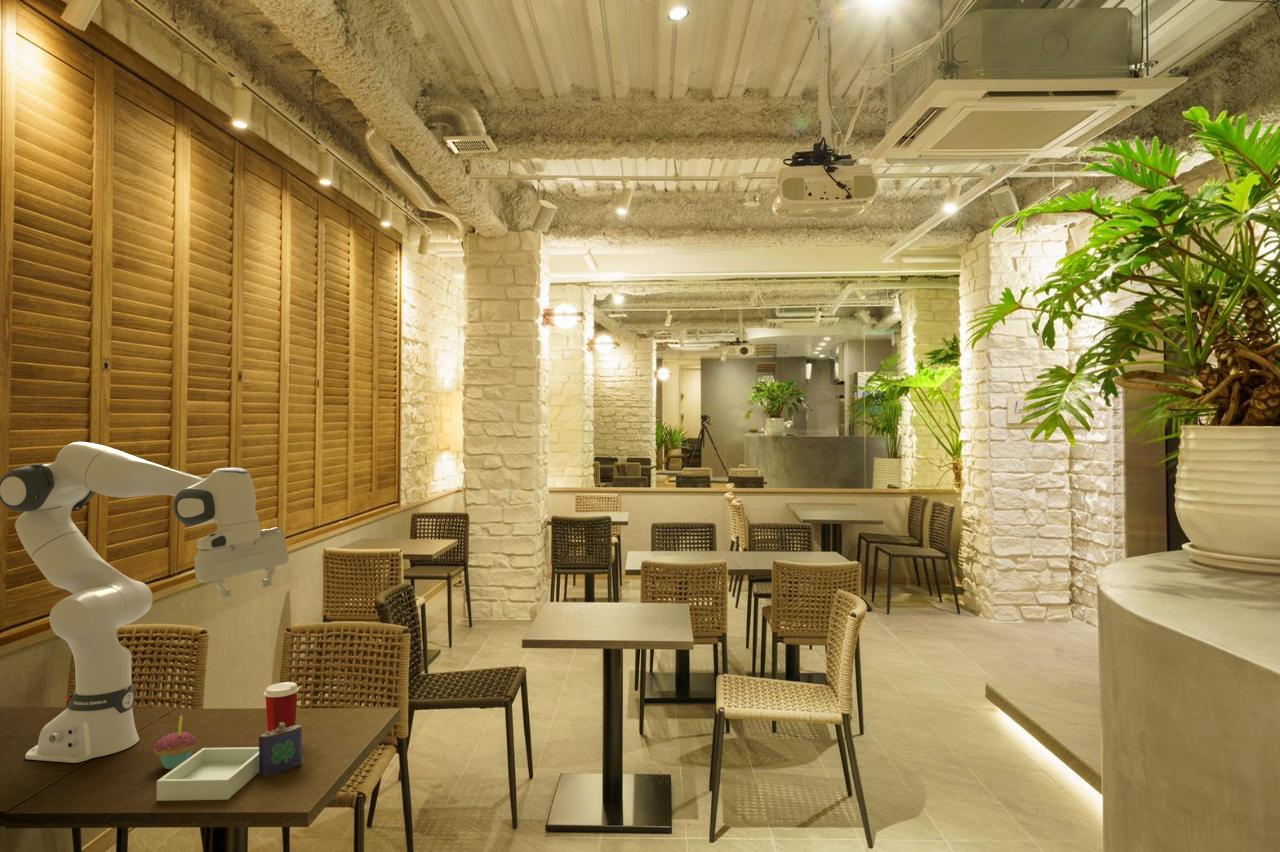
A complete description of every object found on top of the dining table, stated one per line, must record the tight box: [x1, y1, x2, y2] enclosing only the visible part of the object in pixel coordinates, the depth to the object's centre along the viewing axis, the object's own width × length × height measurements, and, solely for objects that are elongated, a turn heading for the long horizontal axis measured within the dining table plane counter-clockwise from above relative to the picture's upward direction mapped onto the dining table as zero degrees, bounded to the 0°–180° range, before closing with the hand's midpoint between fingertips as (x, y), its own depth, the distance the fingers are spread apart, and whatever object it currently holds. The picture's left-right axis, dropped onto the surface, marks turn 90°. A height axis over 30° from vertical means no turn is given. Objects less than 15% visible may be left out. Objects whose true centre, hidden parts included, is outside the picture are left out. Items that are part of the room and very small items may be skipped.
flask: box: [258, 722, 303, 779], centre depth 167 cm, size 9×3×11 cm, turn 138°
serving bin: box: [156, 746, 259, 802], centre depth 162 cm, size 15×17×4 cm
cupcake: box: [152, 712, 198, 770], centre depth 171 cm, size 9×8×12 cm
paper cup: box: [263, 681, 300, 732], centre depth 182 cm, size 8×8×14 cm
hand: (247, 591), depth 178 cm, fingers open, 8 cm apart
